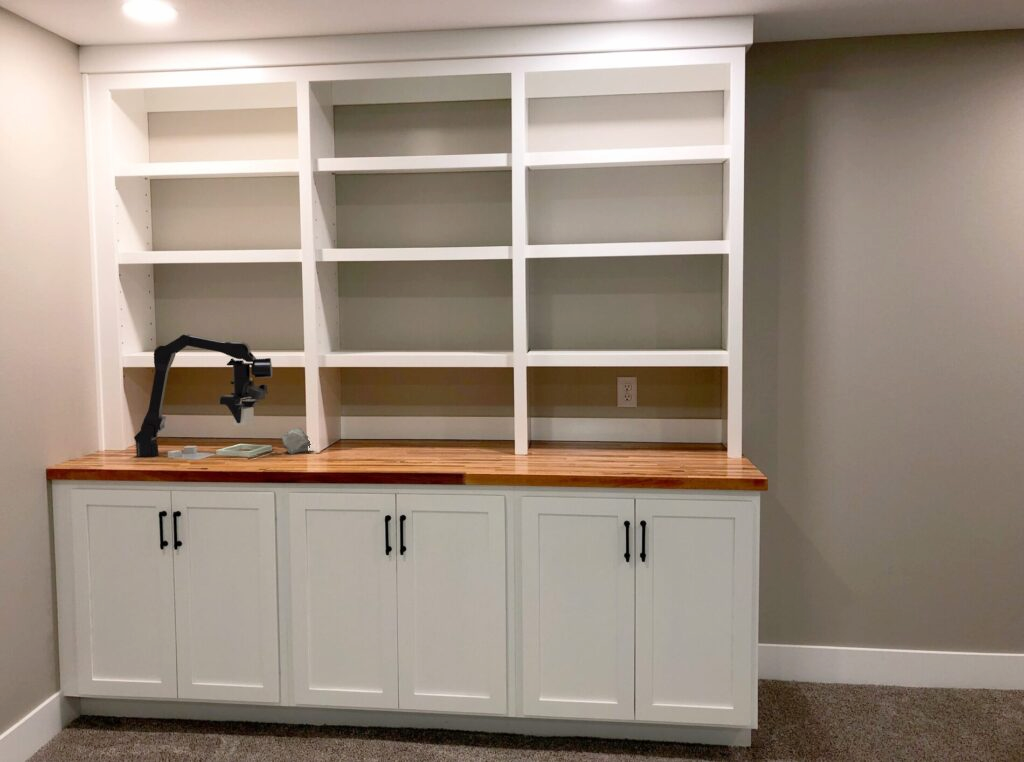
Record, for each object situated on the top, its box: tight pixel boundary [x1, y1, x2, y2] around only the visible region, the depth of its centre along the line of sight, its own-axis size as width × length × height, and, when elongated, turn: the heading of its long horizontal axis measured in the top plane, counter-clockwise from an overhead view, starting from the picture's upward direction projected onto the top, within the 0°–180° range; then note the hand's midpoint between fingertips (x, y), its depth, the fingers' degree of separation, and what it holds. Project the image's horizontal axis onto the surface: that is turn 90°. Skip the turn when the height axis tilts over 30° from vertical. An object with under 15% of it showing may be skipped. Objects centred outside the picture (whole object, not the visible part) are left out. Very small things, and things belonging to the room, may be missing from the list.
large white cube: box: [232, 407, 255, 427], centre depth 297 cm, size 5×5×6 cm
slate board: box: [167, 445, 216, 461], centre depth 292 cm, size 13×12×3 cm
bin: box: [215, 443, 273, 460], centre depth 298 cm, size 14×14×2 cm
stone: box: [281, 427, 311, 455], centre depth 302 cm, size 10×10×10 cm
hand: (243, 422), depth 297 cm, fingers closed on large white cube, 5 cm apart
